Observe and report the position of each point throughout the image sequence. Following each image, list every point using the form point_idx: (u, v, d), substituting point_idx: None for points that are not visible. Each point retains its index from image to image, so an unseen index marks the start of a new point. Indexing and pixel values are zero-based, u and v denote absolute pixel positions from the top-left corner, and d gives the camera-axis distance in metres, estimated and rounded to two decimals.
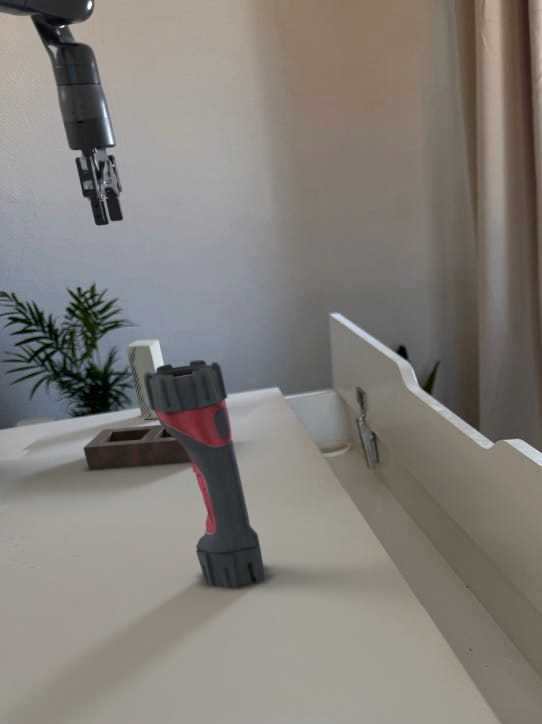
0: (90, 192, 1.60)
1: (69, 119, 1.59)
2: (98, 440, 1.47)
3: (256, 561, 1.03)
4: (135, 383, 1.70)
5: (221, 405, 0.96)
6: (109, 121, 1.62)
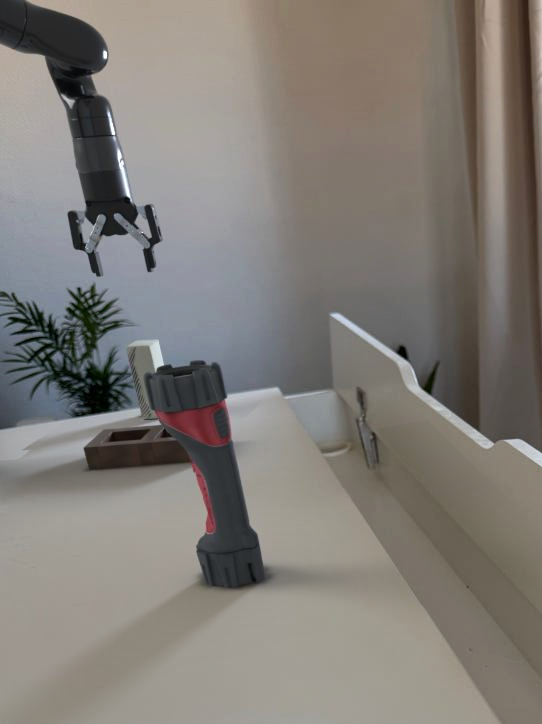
0: None
1: None
2: (98, 440, 1.47)
3: (256, 561, 1.03)
4: (135, 383, 1.70)
5: (221, 405, 0.96)
6: (95, 175, 1.55)
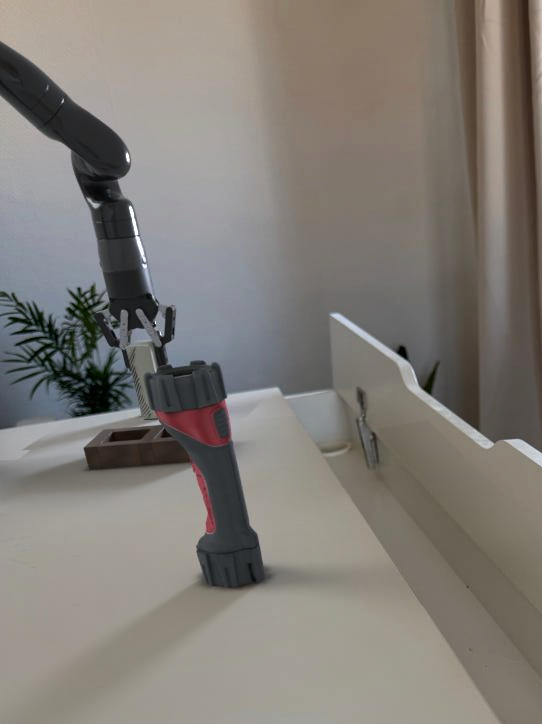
0: None
1: None
2: (98, 440, 1.47)
3: (256, 561, 1.03)
4: (135, 383, 1.70)
5: (221, 405, 0.96)
6: (118, 274, 1.60)
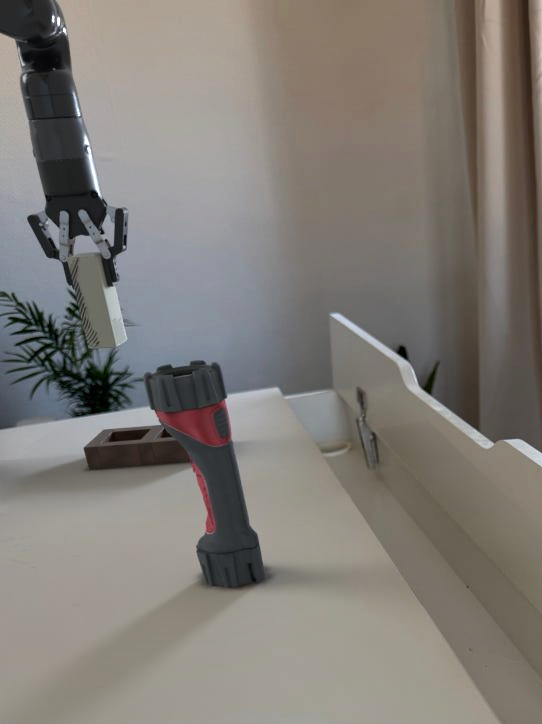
0: None
1: None
2: (98, 440, 1.47)
3: (256, 561, 1.03)
4: (79, 303, 1.40)
5: (221, 405, 0.96)
6: (55, 164, 1.31)
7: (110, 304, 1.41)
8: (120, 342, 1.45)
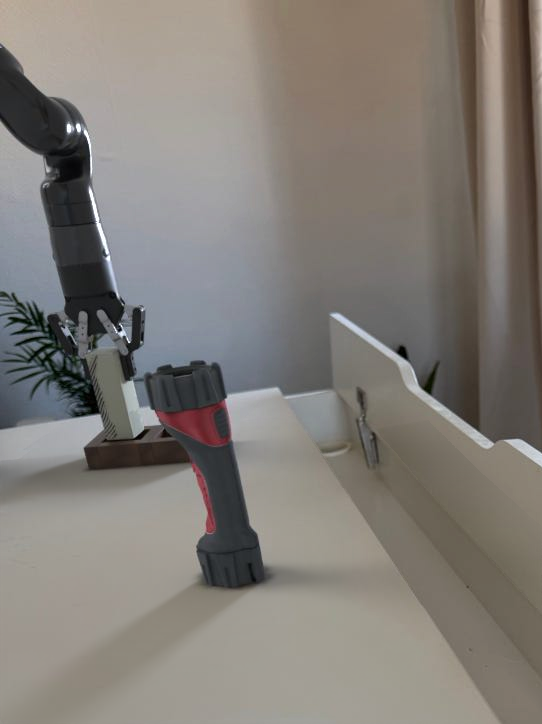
0: None
1: None
2: (98, 440, 1.47)
3: (256, 561, 1.03)
4: (97, 398, 1.43)
5: (221, 405, 0.96)
6: (74, 269, 1.34)
7: (127, 398, 1.44)
8: (137, 433, 1.48)
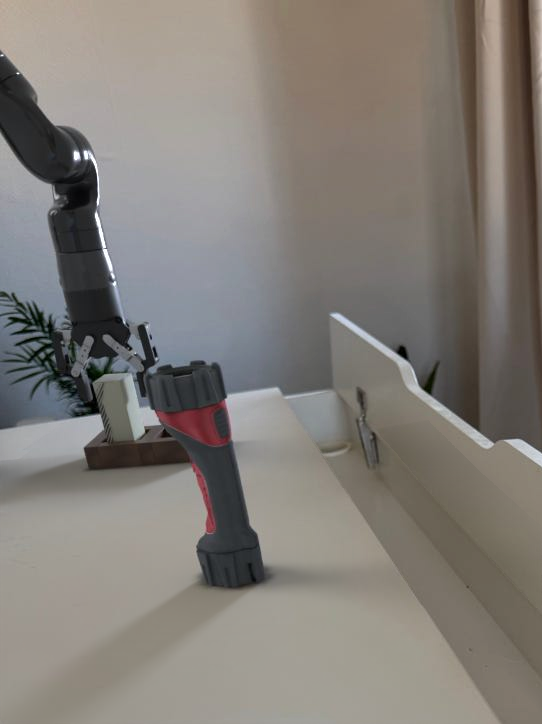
0: None
1: None
2: (98, 440, 1.47)
3: (256, 561, 1.03)
4: (104, 424, 1.45)
5: (221, 405, 0.96)
6: (80, 295, 1.35)
7: (134, 424, 1.46)
8: None
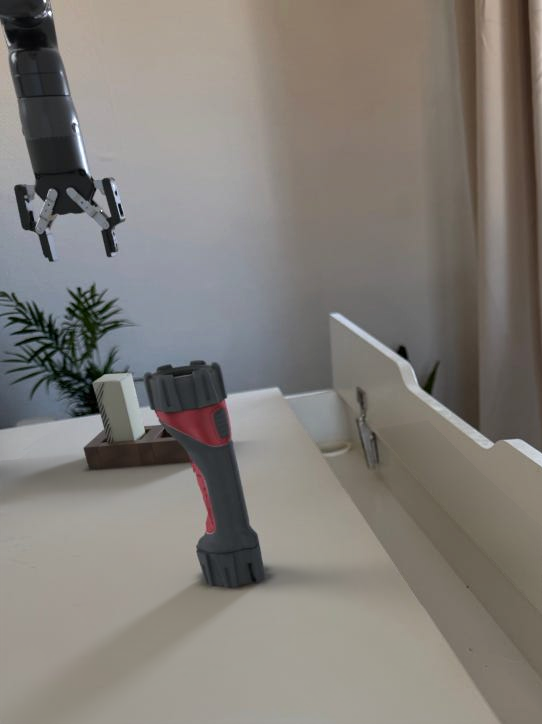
0: None
1: None
2: (98, 440, 1.47)
3: (256, 561, 1.03)
4: (104, 424, 1.45)
5: (221, 405, 0.96)
6: (42, 142, 1.33)
7: (134, 424, 1.46)
8: None
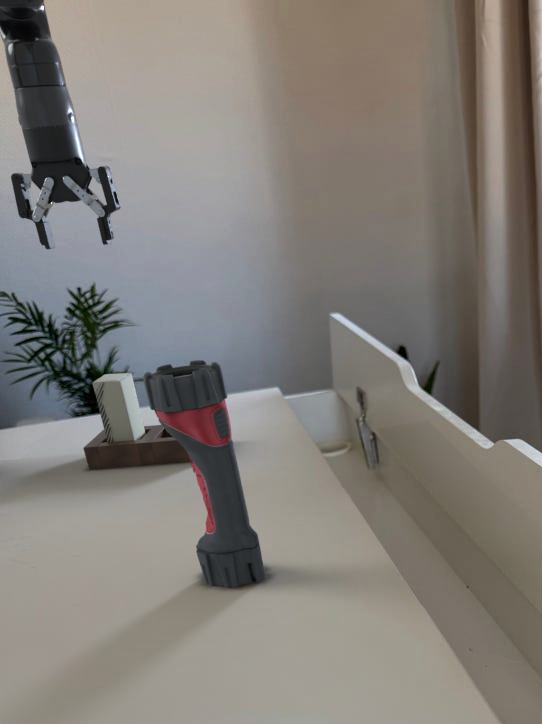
0: None
1: None
2: (98, 440, 1.47)
3: (256, 561, 1.03)
4: (104, 424, 1.45)
5: (221, 405, 0.96)
6: (39, 131, 1.36)
7: (134, 424, 1.46)
8: None
